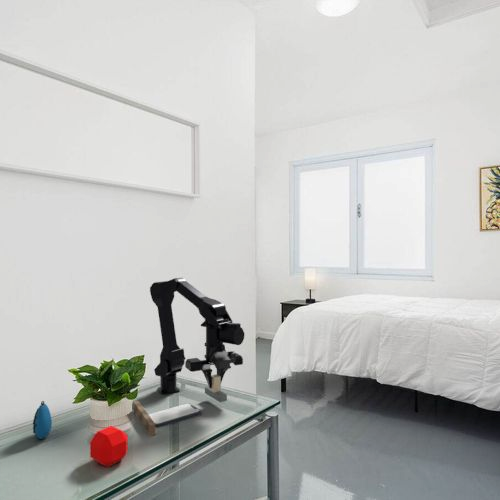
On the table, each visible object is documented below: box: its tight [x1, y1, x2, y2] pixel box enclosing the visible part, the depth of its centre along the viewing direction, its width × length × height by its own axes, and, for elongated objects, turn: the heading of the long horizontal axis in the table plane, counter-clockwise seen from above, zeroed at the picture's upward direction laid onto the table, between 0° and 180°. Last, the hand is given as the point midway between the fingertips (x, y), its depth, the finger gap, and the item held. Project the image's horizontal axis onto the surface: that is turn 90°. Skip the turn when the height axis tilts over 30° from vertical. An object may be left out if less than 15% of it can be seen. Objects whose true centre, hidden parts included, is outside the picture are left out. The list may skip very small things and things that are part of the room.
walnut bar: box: [133, 400, 156, 437], centre depth 130 cm, size 20×2×3 cm, turn 28°
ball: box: [89, 425, 129, 468], centre depth 107 cm, size 8×8×8 cm
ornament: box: [32, 400, 53, 440], centre depth 120 cm, size 8×5×10 cm, turn 18°
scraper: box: [204, 373, 228, 403], centre depth 144 cm, size 10×2×7 cm, turn 35°
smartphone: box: [148, 403, 202, 428], centre depth 134 cm, size 9×2×16 cm
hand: (214, 387), depth 145 cm, fingers closed on scraper, 3 cm apart
